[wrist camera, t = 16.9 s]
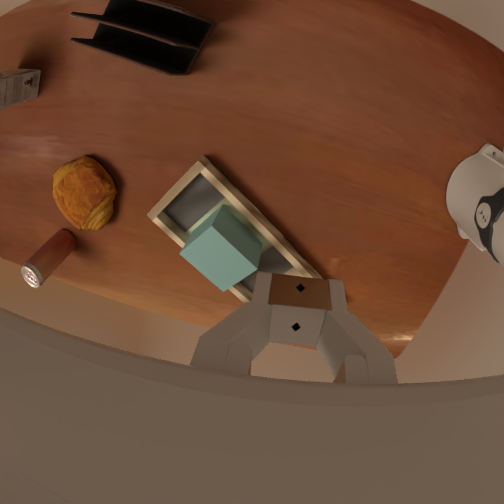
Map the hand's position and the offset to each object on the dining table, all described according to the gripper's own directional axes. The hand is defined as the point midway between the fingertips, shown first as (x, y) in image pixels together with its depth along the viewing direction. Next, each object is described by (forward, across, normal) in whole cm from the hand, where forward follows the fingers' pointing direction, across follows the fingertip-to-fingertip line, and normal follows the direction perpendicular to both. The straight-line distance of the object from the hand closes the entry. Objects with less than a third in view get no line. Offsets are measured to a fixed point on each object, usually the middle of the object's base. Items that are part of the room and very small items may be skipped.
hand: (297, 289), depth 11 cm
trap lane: (+37, +6, +25) cm, 45 cm away
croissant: (+38, +39, +13) cm, 56 cm away
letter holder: (+38, +24, -16) cm, 47 cm away
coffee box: (+37, +54, -12) cm, 67 cm away
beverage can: (+37, +50, +26) cm, 68 cm away
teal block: (+36, +10, +21) cm, 43 cm away
